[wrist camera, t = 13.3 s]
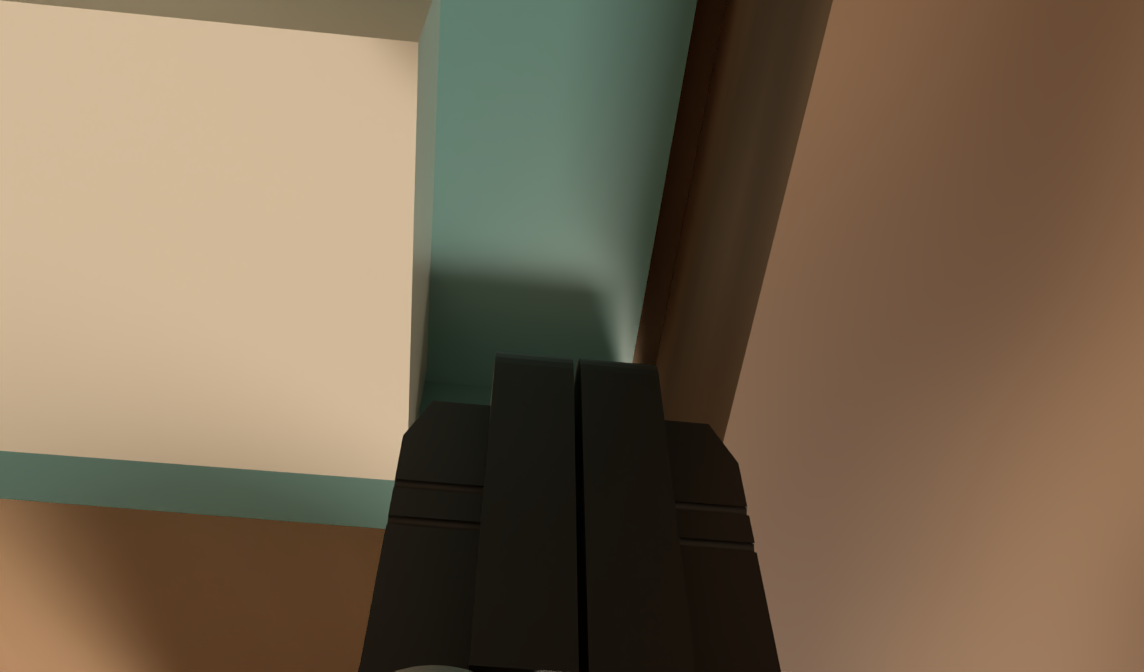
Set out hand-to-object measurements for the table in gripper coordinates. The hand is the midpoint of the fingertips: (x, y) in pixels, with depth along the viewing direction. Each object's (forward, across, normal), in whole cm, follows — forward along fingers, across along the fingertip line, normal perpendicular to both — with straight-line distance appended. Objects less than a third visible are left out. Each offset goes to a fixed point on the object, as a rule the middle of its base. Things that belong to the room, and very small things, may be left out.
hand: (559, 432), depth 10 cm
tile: (+3, +5, 0) cm, 6 cm away
